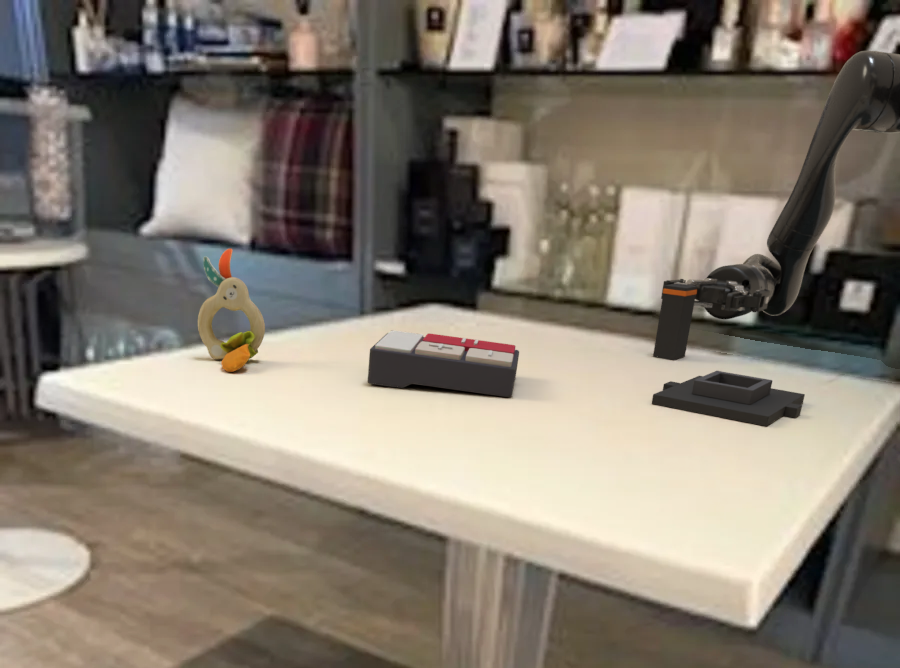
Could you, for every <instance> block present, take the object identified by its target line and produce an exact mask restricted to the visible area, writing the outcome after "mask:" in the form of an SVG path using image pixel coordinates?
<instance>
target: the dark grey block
mask: <svg viewBox="0 0 900 668" xmlns="http://www.w3.org/2000/svg"><path fill="white" fill-rule="evenodd" d="M662 290H663V298H662V299H661V304H660V312H659V317H658V321H657V322H658V323H657V328H656V329H657V330H656V336H655V340H654V341H655V342H654V348H653V354H652V357H653V358H654V357H655V358H659V359H665V360H670V361H671V360H672V361H675V360H678V359H681V358H684V357H686V351H687V345H688V342H689V341H688V340H689V335H690V329H691V324H692V319H693V314H694V313H693V312H694V308H695V306H694V302H695V301H696V299H695V296H696V294H697V286H692V285H684V284H670V285H665V286H664V289H663V288H662ZM656 356H658V357H656Z"/></svg>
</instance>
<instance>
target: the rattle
mask: <svg viewBox="0 0 900 668" xmlns="http://www.w3.org/2000/svg"><path fill="white" fill-rule="evenodd" d="M232 256H233V248H227V249H225V250H224V251H223V253H222V254H221V255H220V258H219V260H218V270H217V269H216V268H215V267H214V265H213V264H212V262H211V260H210V257H208V256H207V255H205V256H203V260H202V261H203V262H202V263H203V264H202V265H203V270H204V273H205V275H206V278H207V279H208V281H209V282H211V284H213V285H214V286H216V287H217V290H216V293H215V294H213V295H212V296H210V297H208V298H207V299H205V300H204V302H203V303H202V304H201V306H200V308H199V312H198V316H197V329H198V334H199V337H200V340H201V341H202V343H203V345H204V346H205V347H206V349H207V353H208V354H209V356H210V358H211V359H213V360H221V362H220V364H221V367H222V369H223V370H224V371H226V372H228V373H232V372H233V373H234V372H237V371H239V370H240V369H242V368H243V367H244V366H245V365H246V364H247V363H248V361H249V360H250V359H252V358H253V357H254V356H256V355H258V353H259V348H260V346H261V345H262V342H263V340H264V337H265V333H266V325H265V320H264V316H263V314H262V312H261V310H260V309H259V308H258V306H257V305H256V304H255V303H254V302H253V301H252V300H251V298H250V293H249V289H248V286H247V285H246V283H245V282H244V281H243V280H242V279H241V278H239V277H234V276H232V271H231V259H232ZM223 308H224V309H226V310H228V311H232V312H236V311H241V312H243V313H244V315H245V317H246V318H247V320H248V322H249V329H250V330H247V331H245V332H242V331H240V332H238V333H235V334H234V335H231V336H230V337H229V339H227V341H224V340H221V339H219V338H217V337H216V335H215V333H214V329H213V320H214V317H215V316H216V314H217V313H218V312H219V311H220V310H221V309H223Z"/></svg>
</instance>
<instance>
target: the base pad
mask: <svg viewBox="0 0 900 668" xmlns="http://www.w3.org/2000/svg"><path fill="white" fill-rule="evenodd" d="M772 385H773V380H772V379H767V378H761V377H755V376H750V375H746V374H745V375H744V374H738V373H732V372H727V371H722V370H714V371H712V372H710V373H708V374H705V375H698V376H695V377H693V378H690V379H688V380H685V381H682V382H678V381H672V380H670V381H667V382H665V383H663V387H662V390H660V391H658V392H655V393H652V398H651V404H652V405H657V406H662V407H666V408H672V409H677V410H681V411H687V412H693V413H697V414H702V415H707V416H712V417H717V418H723V419H728V420H733V421H738V422H742V423H748V424H752V425H757V426H762V427H768V426H770V425H771V424H773V423H774V422H776V421H777V420H779V419H780V418H782V417H786V418H792V419H793V418H794V419H796V418H797V417H799V416H800V415H801V413H802V408H803V405H802V404H804V400H805V395H806V394H805V393H800V392H795V391H788V390H783V389H778V388H772Z"/></svg>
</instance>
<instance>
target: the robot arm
mask: <svg viewBox="0 0 900 668" xmlns="http://www.w3.org/2000/svg"><path fill="white" fill-rule="evenodd" d="M816 125H817V126H816V127H815V130H814V133H813V136H812V138H811V141H810V143H809V147H808V150H807V152H806V155H805V158H804V160H803V164H802V167H801V170H800V172H799V175H798V178H797V180H796V182H795V184H794V186H793V189H792V191H791V193H790V195H789V197H788V199H787V201H786V203H785V204H784V206H783V208H782V210H781V212H780V214H779V216H778V217H777V219H776V221H775V223H774V225H773V227H772V229H771V230H770V232H769V234H768V237H767V240H766V247H767V250H768V251H769V253H770V254H771V255H772V257H773V258H774V259H775V261H777V262H775V261H774V260H773V259H771V258H770V257H769V256H766V255H764V254H761V253H755V254H752V255H750V256H749V257H748V258H747V259H746V260H745V261H743V262H742V263H737V264H729V265H722V266H719V267H717V268H715V269H713V271H711V272H710V273H709V274H708V275H707V276H706V278H704V279H688V280H686V279H684V278H679V279H671V280H669V279H666V280H664V281H663V284H662V289H661V297H660V299H661V300H662V298H663V289H664V286H665V285H670V284H684V285H692V286H697V294H696V296H695V302H694V307H695V306H696V307H697V306H699V307H702V308H704V310H705V311H706V312H707V313H708V314H709V316H712V317H713V318H715V319H719V320H730V319H734V318H739V317H742V316H745V315H748V314H750V313H759V312H763V313H765V314H767V315H769V316H780V315H782V314H784V313H785V312H787V311H788V310H789V309H790V308H791V307H792V306H793V305H794V303H795V302H796V301H797V298H798V296H799V293H800V290H801V287H802V283H803V278H804V275H805V272H806V271H805V270H806V267H807V264H808V262H809V258H810V255H811V253H812V251H813V249H814V247H816V244H817V243H818V241H819V239H820V237H822V234H823V233H824V231H825V229H826V228H827V226H828V224H829V222H830V220H831V218H832V215H833V212H834V209H835V206H836V205H835V204H836V197H837V196H836V195H837V194H836V193H837V192H836V190H837V187H836V167H837V161H838V157H839V154H840V151H841V149H842V148H843V147H842V146H843V145H844V144H845V142H846V141H847V138H848V137H849V135H850V134H851V133H852V131H859V132H860V131H861V132H867V133H868V132H869V133H878V134H900V54H899V53H892V52H883V51H880V50H879V51H878V50H861V51H859V52H856V53H855V54H853V55H852V56H851V57H850V58H849V59H848V60H847V61H846V62H845V63H844V65H843V66H842V68H841V69H840V71H839V73H838V74H837V76H836V78H835V80H834V82H833V84H832V87H831V89H830V91H829V93H828V96H827V99H826V101H825V103H824V106H823V109H822V112H821V114H820V117H819V119H818V122H817V124H816Z"/></svg>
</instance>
